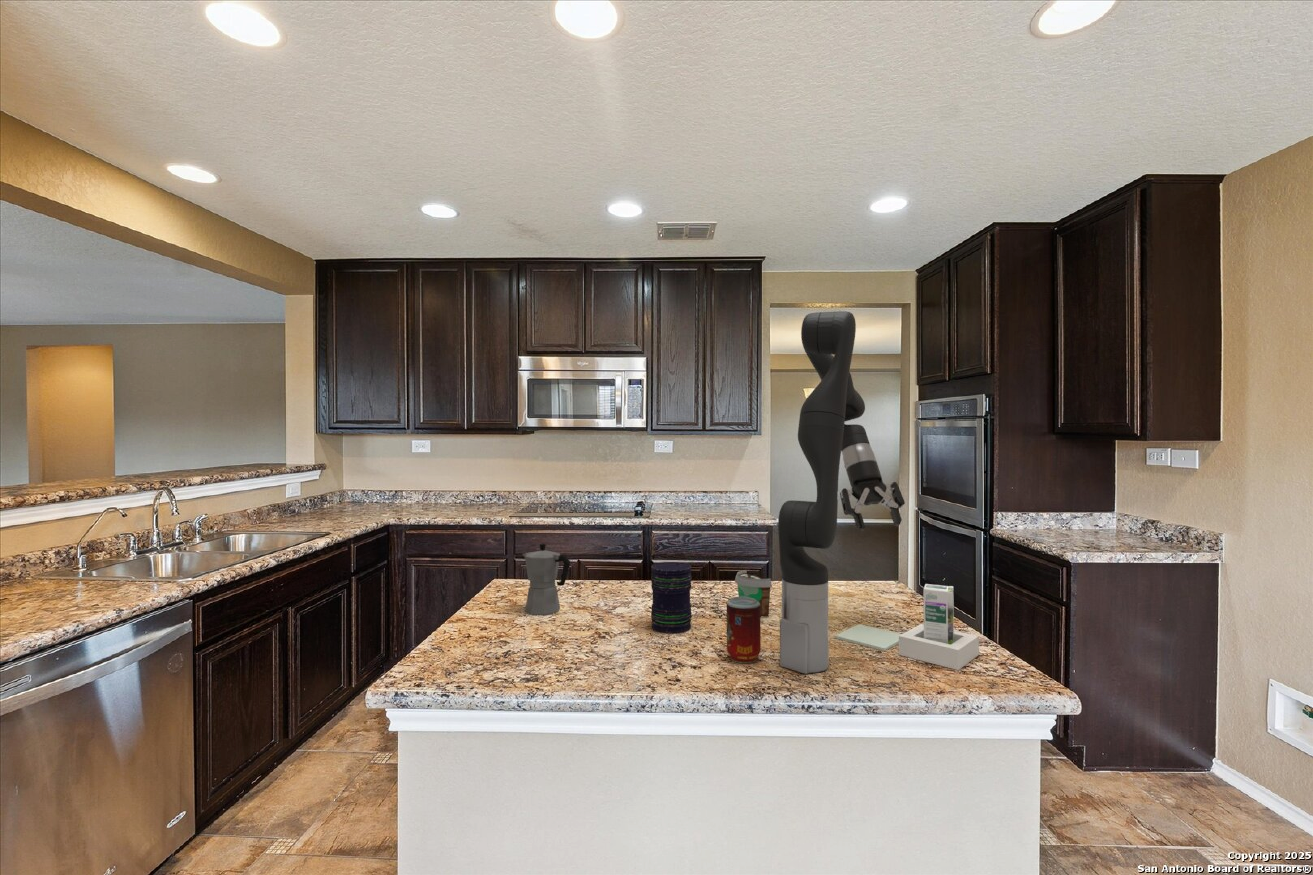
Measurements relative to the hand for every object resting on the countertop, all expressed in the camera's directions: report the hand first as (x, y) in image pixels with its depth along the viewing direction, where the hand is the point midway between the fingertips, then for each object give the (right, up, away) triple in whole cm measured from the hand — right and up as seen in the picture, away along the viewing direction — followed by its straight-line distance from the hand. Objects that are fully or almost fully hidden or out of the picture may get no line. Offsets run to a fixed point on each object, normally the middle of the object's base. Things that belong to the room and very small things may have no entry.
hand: (880, 527), depth 143 cm
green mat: (-4, -25, -4) cm, 25 cm away
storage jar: (-49, -25, +4) cm, 56 cm away
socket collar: (+7, -25, -15) cm, 30 cm away
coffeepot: (-83, -25, +18) cm, 88 cm away
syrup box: (+7, -25, -15) cm, 30 cm away
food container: (-29, -25, +16) cm, 41 cm away
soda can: (-35, -25, -16) cm, 46 cm away
